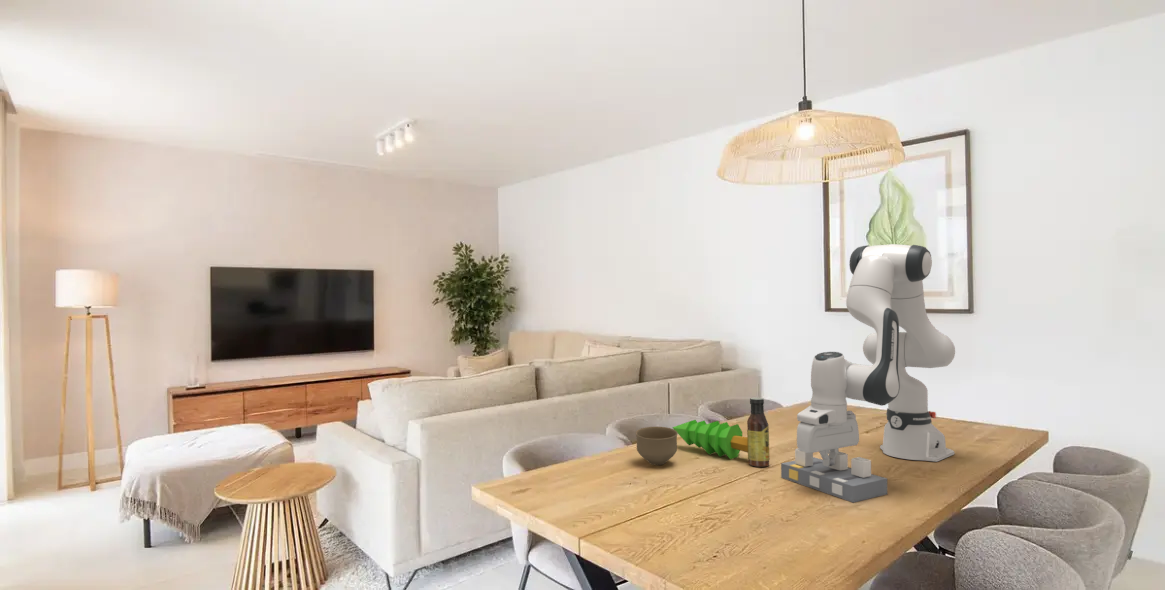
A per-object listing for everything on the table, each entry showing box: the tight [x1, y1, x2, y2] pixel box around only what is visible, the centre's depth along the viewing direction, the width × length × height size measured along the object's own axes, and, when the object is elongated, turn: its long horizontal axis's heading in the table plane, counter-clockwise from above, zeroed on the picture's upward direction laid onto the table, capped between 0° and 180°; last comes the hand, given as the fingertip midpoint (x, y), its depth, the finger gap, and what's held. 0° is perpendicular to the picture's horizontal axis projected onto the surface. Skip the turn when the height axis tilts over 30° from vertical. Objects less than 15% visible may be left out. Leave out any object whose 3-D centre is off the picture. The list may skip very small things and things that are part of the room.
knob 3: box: [850, 456, 872, 478], centre depth 153 cm, size 3×4×4 cm
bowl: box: [635, 426, 679, 466], centre depth 179 cm, size 13×13×10 cm
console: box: [780, 456, 888, 504], centre depth 158 cm, size 13×23×4 cm, turn 28°
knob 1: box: [794, 447, 814, 467], centre depth 163 cm, size 3×4×4 cm
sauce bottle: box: [746, 397, 770, 468], centre depth 178 cm, size 7×6×20 cm
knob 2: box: [829, 450, 849, 471], centre depth 159 cm, size 3×4×4 cm
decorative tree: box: [671, 419, 748, 460], centre depth 191 cm, size 11×12×30 cm
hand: (829, 465), depth 158 cm, fingers closed
